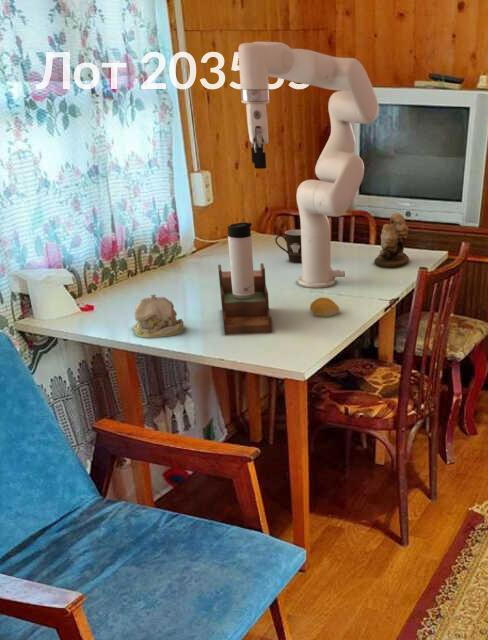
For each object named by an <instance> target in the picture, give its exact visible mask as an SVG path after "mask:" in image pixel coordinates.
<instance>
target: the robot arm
mask: <svg viewBox="0 0 488 640" xmlns="http://www.w3.org/2000/svg"><path fill="white" fill-rule="evenodd" d="M237 49H238V51H237V54H238V69H239V82H240V84H239V85H240V97H241V98H240V99H241V100H240V101H241V103H242V104H245V108H246V109H245V110H246V122H247V131H248V138H249V142H250V143H251V147H250V150H251V151H250V152H251V163H253V165H254V169H257V170H260V169H262V170H263V169H266V168H267V158H266V157H267V155H266V151H265V144H266V145H268V144H269V143H270V141H269V140H270V139H269V127H268V112H267V104H270V89H269V87H270V85H269V77H270V78H275V79H281V80H285V81H289V82H292V83H298V84H303V85H307V86H313V87H317V88H321V89H325V90H330V91H335V92H333V93H332V94H331V95H330V97H329V99H328V105H327V108H328V114H329V121H330V135H329V137H328V140H327V142H326V143H325V146H324V148H323V149H322V151H321V153H320V155H319V156H318V157H319V158H318V159H317V161H316V164H315V168H314V172H315V175H316V177H317V178H318V179H306V180H304V181H302V182H301V183H300V184H299V185H298V187H297V189H296V194H295V195H296V204H297V209H298V213H299V214H298V215H299V220H300V221H299V222H300V230H301V253H302V263H301V276H299V277H298V278H297V284H298V285H299V286H302V287H305V288H316V289H317V288H327V287H331V286H333V285H335V284H336V278H345V276H346V272H345V270H340V269H336V270H335V269H333V268H332V267H331V225H330V220H329V217H333V218H334V217H335V218H336V217H338V218H339V217H341V216H343V215H345V214H346V213H347V211H348V209H349V207H350V206H351V204H352V202H353V200H354V198H355V197H356V194H357V192H358V191H359V188H360V186H361V184H362V182H363V179H364V175H365V164H364V161H363V159H362V157H360V156H359V155H358V154H356V153H354V151H355V148H356V144H357V143H356V140H357V139H356V136H355V132H354V129H353V124H360V125H369V124H372V123H373V122H375V121H376V120H377V118H378V115H379V109H380V108H379V107H380V105H379V101H378V97H377V95H376V92H375V89H374V88H373V84H372V82H371V79H370V78H369V76H368V73H367V71H366V69H365V67H364V66H363V64H362V63H361V62H360V61H359V60H358V59H356V58H353V57H337V56H332V55H328V54H325V53H322V52H318V51H314V50H311V49H305V48H291V46H289V45H288V44H286V43H283V42H279V41H252V42H242V43H240V44H239V45H238V48H237Z"/></svg>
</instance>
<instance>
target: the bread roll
mask: <svg viewBox="0 0 488 640" xmlns="http://www.w3.org/2000/svg"><path fill="white" fill-rule="evenodd" d="M309 308H310V309H309V310H310V311H311V313H313V315H314V316H316V317H323V318H327V317H328V318H329V317H333V316H336V315H337V314H338V313H339V312H340V307H339V305H338V304H336V302H335V301H334V300H333V299H331V298H328V297H318V298H316V299H315V300H313V301H312V302H311V303H310V306H309Z"/></svg>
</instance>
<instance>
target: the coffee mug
mask: <svg viewBox="0 0 488 640" xmlns="http://www.w3.org/2000/svg"><path fill="white" fill-rule="evenodd" d="M278 238H283V239H284V241H285V243H286V249H285V248H284V247H282V245H280V244H279V242H278ZM274 241H275V244H276V246H278V247H279V248H280V249H281V250H283V251H284V252H285V253H286V254H287V256H288V262H289V263H292V264H302V253H301V229H288V230H286V231H284V235H283V234H279V235H277V236H276V237H275V239H274Z"/></svg>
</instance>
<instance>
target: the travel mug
mask: <svg viewBox="0 0 488 640" xmlns="http://www.w3.org/2000/svg"><path fill="white" fill-rule="evenodd" d="M252 226H253V224H252V222H236V223H232V224H230V225H228V226H227V241H228V254H229V267H230V271H231V281H232V293H233V297H234V298H236V299H242V300H245V299H251V298H253V297H254V296H255V291H254V290H255V289H254V273H253V271H254V258H253V243H252V232H251V231H252V229H251V227H252Z"/></svg>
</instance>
